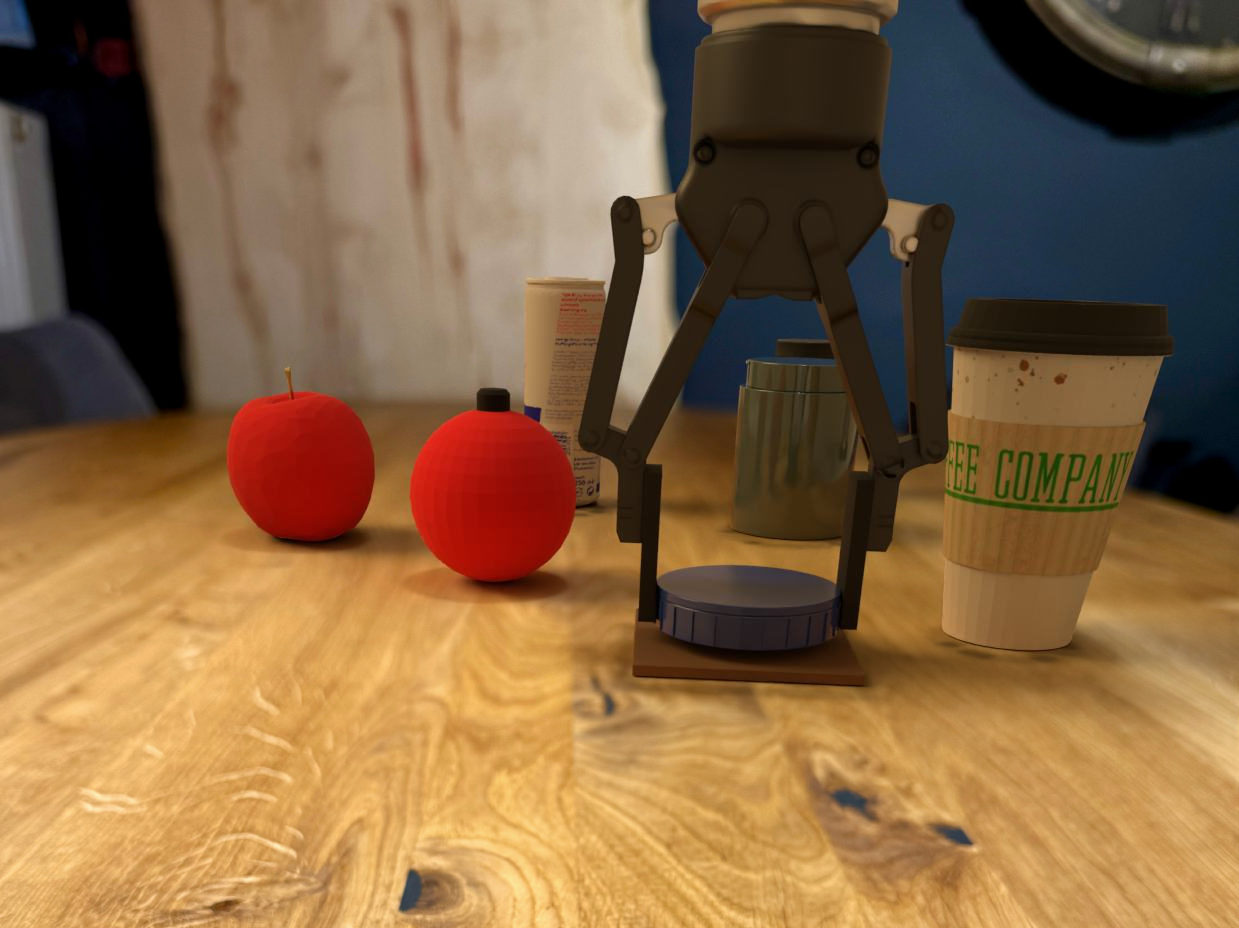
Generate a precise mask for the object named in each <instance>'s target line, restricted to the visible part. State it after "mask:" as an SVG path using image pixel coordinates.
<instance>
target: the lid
mask: <svg viewBox="0 0 1239 928" xmlns="http://www.w3.org/2000/svg"><path fill="white" fill-rule="evenodd" d="M840 599H841V589H840V587H839V586H838V585H836V583H835V582H833V581H832V580H830V579H827V578H825V577H822V576H820V575H819V576H818V575H816V574H813V573H808V572H804V571H798V570H794V569H787V568H781V567H772V566H762V565H749V564H747V565H746V564H714V565H713V564H712V565H711V564H710V565H699V566H689V567H684V568H679V569H678V568H677V569H674V570H671V571H668V572H665V573H663V574H661V575H660V576H659V577H657V583H656V602H655V621H654V622H653V623H655V626H656V627H657V628H658V629H659V630H660V631H661V632H663V633H665V634H667V635H669V636H671V637H673V638H676V639H680V640H683V641H686V642H690V643H694V644H699V645H704V646H709V647H715V648H724V649H733V650H750V651H776V650H791V649H799V648H807V647H811V646H815V645H819V644H822V643H825V642H827V641H829V640H830V639H832V638H833V637H834V636H836V632H837V630H839V626H838V624H839V615H840V607H841V602H840Z"/></svg>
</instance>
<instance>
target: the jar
mask: <svg viewBox="0 0 1239 928" xmlns="http://www.w3.org/2000/svg"><path fill="white" fill-rule="evenodd" d="M745 365H747V373H746V383H742V384H740V385H739V394H738V407H737V421H736V435H735V447H734V459H733V469H732V470H733V471H732V472H733V473H732V484H731V494H730V495H731V496H730V508H729V519H728V520H729V521H728V526H729V528H731V529H732V530H734V531H735V532H738V533H740V534H745V535H749V536H754V537H760V538H768V539H778V540H793V541H795V540H796V541H813V540H814V541H817V540H828V539H829V540H830V539H834V538H839V537H842V529H843V521H844V512H845V503H846V495H847V486H848V477H849V471H855V467H856V459H857V452H858V451H857V450H858V443H859V436H860V435H859V432H858V429H857V426H856V423H855V420H854V417H853V414H852V410H851V407H850V404H849V401H848V398H847V395H846V392H845V389H844V386H843V383H842V380H841V376H840V373H839V370H838V367H837V364H836V361H835V359H821V358H799V357H776V356H761V357H751V358H748V359H747V360H746V361H745Z"/></svg>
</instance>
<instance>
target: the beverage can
mask: <svg viewBox="0 0 1239 928" xmlns="http://www.w3.org/2000/svg"><path fill="white" fill-rule="evenodd" d="M525 283H526V288H525V291H524V374H523V375H524V379H523V380H524V381H523V382H524V385H523V386H524V388H523V390H524V391H523V392H524V393H523V395H524V396H523V398H524V399H523V401H524V402H523V405H524V406H523V414H524V415H526V416H528V417H530V418H532V419H533V420H535V421H537V422H538V423H540V424H541V425H542V426H543V427H544V428H546V429H547V430H548V431H549V432H550V433H551V434H552V435H553V436H554V437H555V438H556V440H557V441H558V442H559V444H560V445H561V446H562V448H563V449H564V451H565V453H566V455H567V457H568V459H569V461H570V463H571V466H572V470H573V474H574V478H575V483H576V497H577V498H576V507H583V506H587V505H589V504H591V503H594V502H596V501H597V500H599V497H600V496H601V493H600V491H601V489H600V488H601V464H602V463H601V459H602V456H599V455H597V454H594V453H588V452H586V451H584V450H583V449H582V448H581V447H580V445H579V443H578V432H579V428H580V423H581V418H582V414H583V409H584V404H585V400H586V395H587V390H588V386H589V381H590V376H591V372H592V367H593V362H594V357H595V353H596V348H597V343H598V339H599V334H600V329H601V325H602V320H603V315H604V311H605V306H606V301H607V293H606V290H605V285H606V280H604V279H591V278H590V279H589V278H588V277H571V276H570V277H569V276H545V277H526V278H525Z"/></svg>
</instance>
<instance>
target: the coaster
mask: <svg viewBox="0 0 1239 928" xmlns="http://www.w3.org/2000/svg"><path fill="white" fill-rule="evenodd" d="M638 609H639V607H638V608H635V620H634V637H633V651H632V666H631V668H632V669H631V676H634V677H635V676H637V677H657V678H658V677H659V678H681V679H701V680H702V679H703V680H704V679H706V680H726V681H727V680H728V681H748V682H750V681H751V682H773V683H774V682H775V683H794V684H795V683H796V684H798V683H799V684H817V685H840V686H841V685H843V686H862V687H863V686H864V685H865V682H866V674H865V672H864V670H863V668H862V666H861V664H860V662H859V659H858V658H857V655H856V654H855V652H854V650H853V648H852V646H851V644H850V642H849V639H848V638H847V636H846V634H845V632H844V630H842V629H840V628H839V630H837V632H836V636H834V637H833V638H832V639H830V640H829V641H827V642H825V643H822V644H819V645H815V646H811V647H807V648H799V649H791V650H776V651H750V650H733V649H724V648H715V647H709V646H704V645H699V644H694V643H690V642H686V641H683V640H680V639H676V638H673V637H671V636H669V635H667V634H665V633H663V632H661V631H660V630H659V629H658V628H657V627H656V626H655V623H653V622H638Z"/></svg>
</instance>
